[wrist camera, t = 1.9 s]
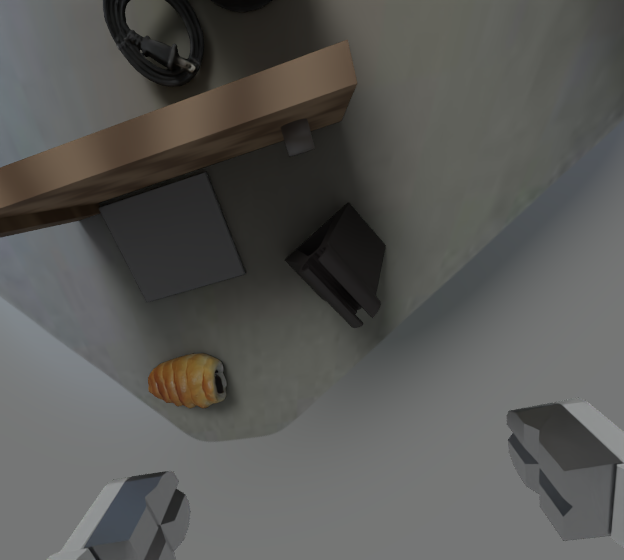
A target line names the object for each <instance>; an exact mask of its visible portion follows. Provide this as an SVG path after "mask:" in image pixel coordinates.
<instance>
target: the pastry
mask: <svg viewBox="0 0 624 560" xmlns="http://www.w3.org/2000/svg"><path fill="white" fill-rule="evenodd" d="M148 384H149V388H148V389H149V392H150V393H152V394H153V395H154V396H155V397H157V398H159V399H162V400H164V401H165V402H166V403H174V404H175V405H176V406H182V405H184V406H186V407H188V408H193V407H195V406H196V405H197V406H199V407H201V408H207V407H209V406H210V405H211V404H213V403H218V402H220V401H223V400H224V399H225V397H226V388H225V387H226V386H227V383H226V379H225V376H224V374H223V365H222V362H221V361H220V360H218V359H216V358H214V357H212V356H210V355H207V354H204V353H201V354H194V353H193V354H190V355H185V356H181V357H178V358H175V359H172V360H169V361H166V362H163V363H161V364H159V365H158V366H157V367H156V368H154V369H153V371H152V372H151V373H150V375H149V377H148Z"/></svg>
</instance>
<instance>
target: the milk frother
mask: <svg viewBox="0 0 624 560" xmlns="http://www.w3.org/2000/svg"><path fill="white" fill-rule="evenodd" d="M129 1H130V0H103V11H104V17H105V21H106V23H107V26H108V29H109V31H110V33H111V35H112V37H113V39H114V41H115V43H116V45H117V48H118V49H119V50H120V51H121V52H122V54H123V55H124V56H125V58H126V59H127V60H128V61H129V63H130V64H131V65H132V66H133V67H134V68H135V69H136V70H137V71H138V72H139V73H140V74H142V75H143V76H144V77H146V78H147V79H149V80H151V81H153V82H155V83H157V84H160V85H163V86H171V87H174V86H181V85H184V84H186V83H188V82H189V81H190V80H192V78H193V77H194V76H195V75H196V74H197V72H198V70H199V68H200V66H201V61H202V57H203V50H204V39H203V33H202V30H201V27H200V23H199V21H198V18H197V16H196V14H195V12H194V10H193V8H192V7H191V5H190V4H189V2H188V1H187V0H165V1H167V2H168V3H169V4H170V5H171V6H172V7H173V8H174V9H175V10H176V11H177V12H178V14H179V15H180V17H181V18H182V20H183V22H184V24H185V26H186V28H187V31H188V34H189V38H190V45H191V49H190V55H189V58H188V59H185V58H182V57H180V56H179V54H178V49H177V45H176V44H173V46H172V47H170V46H168V45H166V44H164V43H161V42H158V41H154V40H151V39H150V37H149V36H146V37H142V36H140V35H139V34H137V33H136V32H135V31H134V30H130V29H129V27H128V25H127V24H126V17H125V9H126V6H127V3H128V2H129ZM211 1H212V2H214V3H215V4H217V5H218V6H220V7H222V8H225V9H228V10H231V11H237V12H248V11H252V10H256V9H259V8H261V7H263V6H265V5H266V4H268V3H269V2H271V1H272V0H211ZM140 50H142V52H143V53H140ZM144 56H145V57H151V58H153V59H154V60H156V61H157V62H159V63H160V64H162V65H164V66H165V67H167V68H168V70H165V69H162V68H159V67H157V66H156V65H154V64H153V63H151V62H150V61H148V60H147V59H146V58H145V57H144Z"/></svg>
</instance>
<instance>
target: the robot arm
mask: <svg viewBox="0 0 624 560" xmlns="http://www.w3.org/2000/svg"><path fill="white" fill-rule="evenodd" d="M507 425H508V426H509V428H510V429H511V431H512V432H513V434H512V435H511V436H510V438H509V439H508V446H509V453H510V456H511V459H512V462H513V465H514V467H515V469H516V470H517V473H518V474H519V476H520V478H521V479H522V481H523V482H524V484H525V485H526V486H527V487H528V488H530V489H532V490H533V491H535V492H536V493H538V494H540V507H541V509H542V510H543V512H544V513H545V515H546V516H547V518H548V519H549V521H550V522H551V523H552V525H553V526H554V528H555V529H556V531H557V532H558V534H559V535H560V537H561V538H562V540H563V541H567V540H577V539H585V538H595V537H604V536H611V539H612V540H614V541H615V542H616V543H618V544H619V545H621V546H622V547H623V548H624V432H623V431H622V430H621V429H620V428H618V427H617V426H616V425H615V424H614V423H612V422H611V421H610V420H609V419H608V418H606V417H605V416H604V415H603V414H601V413H600V412H599V411H598V410H597V409H595V408H594V407H593V406H592V405H590V404H589V403H588V402H587V401H586V400H583V399H581V398H575V399H569V400H564V401H559V402H555V403H548V404H543V405H537V406H532V407H527V408H521V409H516V410H511V411H508V414H507ZM178 482H179V481H178V479H177V477H176V475H175V473H174V472H172V471H166V472H159V473H152V474H145V475H139V476H132V477H128V478H121V479H114V480H112V481H111V482H109V483H108V484H106V486H105V487H104V489H103V490H102V491H101V493H100V494H99V496H98V497H97V499H96V500H95V502H94V503H93V504H92V506H91V508H90V509H89V510H88V512H87V513H86V515H85V516H84V518H83V519H82V520H81V522H80V524H79V525H78V526H77V528H76V529H75V531H74V532H73V534H72V535H71V537H70V538H69V539H68V541H67V542H66V544H65V545H64V547H63V548H62V550H61V551H60V553H55V554H52V555H51V556H50V557H49V558H48V559H46V560H176V557H175V553H174V550H175V549H176V548H177V547H178V546H179V545H180V544H181V543H182V541H183V540H184V539H185V535H186V533H187V530H188V527H189V519H190V506H189V501H188V499H187V497H186V495H185V494H184V493H182V492H181V491H179V490H177V489H176V488H177V485H178Z"/></svg>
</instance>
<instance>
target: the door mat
mask: <svg viewBox="0 0 624 560" xmlns="http://www.w3.org/2000/svg"><path fill="white" fill-rule="evenodd" d="M99 210H100V212H101V214H102V216H103V218H104V220H105V222H106V224H107V226H108V228H109V230H110V232H111V234H112V236H113V238H114V240H115V242H116V244H117V246H118V248H119V249H120V251H121V253H122V255H123V257H124V259H125V261H126V263H127V265H128V267H129V269H130V271H131V273H132V275H133V277H134V279H135V281H136V283H137V285H138V287H139V289H140V290H141V292H142V294H143V296H144V298H145V300H146V302H150V301H154V300H157V299H161V298H164V297H168V296H171V295H175V294H178V293H182V292H185V291H188V290H192V289H195V288H199V287H202V286H206V285H209V284H213V283H216V282H220V281H223V280H227V279H230V278H234V277H237V276H240V275H244V274H245V273H246V272H245V270H244V267H243V265H242V262H241V259H240V257H239V254H238V252H237V249H236V247H235V244H234V242H233V239H232V236H231V234H230V231H229V229H228V226H227V224H226V221H225V218H224V216H223V213H222V211H221V208H220V206H219V203H218V200H217V198H216V195H215V193H214V190H213V188H212V185H211V183H210V180H209V177H208V175H207V172H205V173H202V174H199V175H196V176H193V177H190V178H187V179H184V180H181V181H178V182H175V183H172V184H169V185H166V186H163V187H160V188H157V189H154V190H151V191H148V192H145V193H142V194H139V195H136V196H133V197H130V198H127V199H124V200H121V201H118V202H115V203H112V204H109V205H106V206H103V207H100V208H99Z"/></svg>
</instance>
